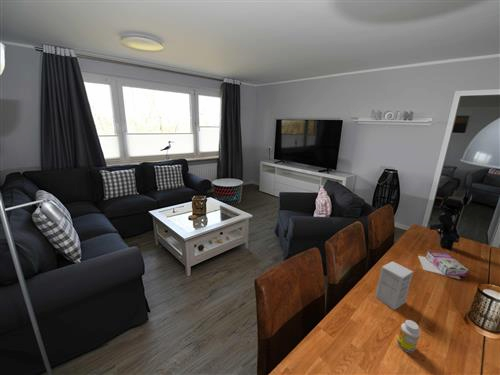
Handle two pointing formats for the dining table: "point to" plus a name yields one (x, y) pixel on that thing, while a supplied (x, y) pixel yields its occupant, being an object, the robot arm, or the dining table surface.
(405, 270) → the supplement box
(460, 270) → the candy bar box
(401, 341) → the supplement bottle
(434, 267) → the mat
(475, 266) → the dining table surface
